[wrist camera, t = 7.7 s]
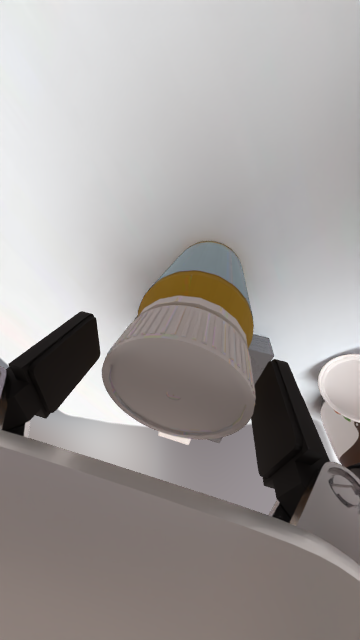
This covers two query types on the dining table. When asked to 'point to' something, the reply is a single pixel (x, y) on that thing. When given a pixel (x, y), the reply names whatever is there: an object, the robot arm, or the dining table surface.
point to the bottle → (188, 349)
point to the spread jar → (342, 408)
